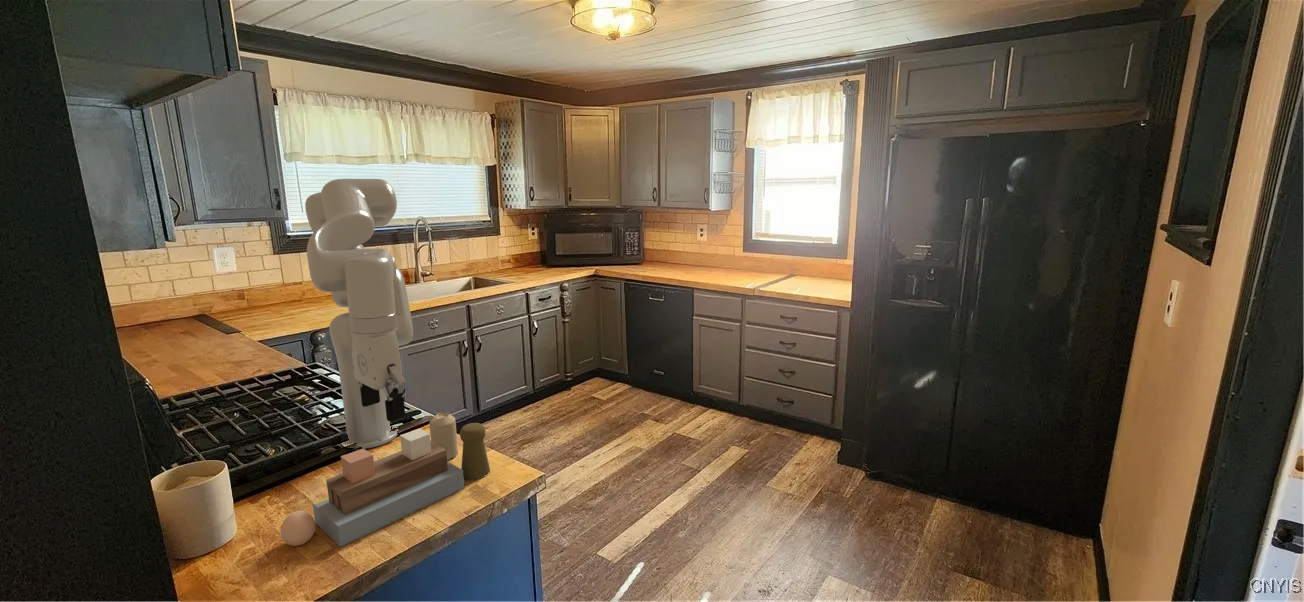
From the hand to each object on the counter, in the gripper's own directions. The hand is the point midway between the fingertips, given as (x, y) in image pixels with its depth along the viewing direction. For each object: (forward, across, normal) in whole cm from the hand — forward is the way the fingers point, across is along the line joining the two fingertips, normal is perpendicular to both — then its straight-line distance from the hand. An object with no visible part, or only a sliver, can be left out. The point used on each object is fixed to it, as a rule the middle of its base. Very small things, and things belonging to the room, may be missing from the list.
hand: (383, 411), depth 103 cm
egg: (+20, -1, -16) cm, 25 cm away
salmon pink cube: (+11, 0, -6) cm, 12 cm away
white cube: (+11, 0, +6) cm, 12 cm away
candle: (+20, -10, +17) cm, 28 cm away
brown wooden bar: (+15, 0, 0) cm, 15 cm away
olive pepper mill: (+20, +2, +17) cm, 26 cm away
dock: (+19, 0, 0) cm, 19 cm away
